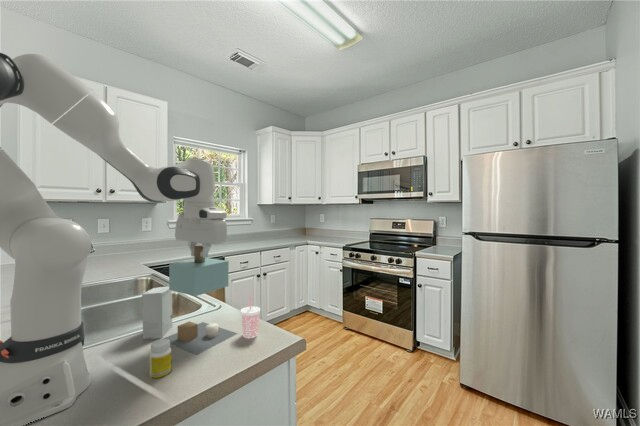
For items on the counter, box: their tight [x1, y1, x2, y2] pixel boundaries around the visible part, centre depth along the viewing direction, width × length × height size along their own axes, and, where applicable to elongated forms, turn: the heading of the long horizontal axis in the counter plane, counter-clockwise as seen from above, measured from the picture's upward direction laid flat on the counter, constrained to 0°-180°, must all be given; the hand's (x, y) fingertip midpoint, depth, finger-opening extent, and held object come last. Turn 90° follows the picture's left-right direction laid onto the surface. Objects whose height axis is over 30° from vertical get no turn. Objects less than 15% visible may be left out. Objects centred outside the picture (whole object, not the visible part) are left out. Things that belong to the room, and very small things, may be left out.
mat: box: [162, 321, 239, 356], centre depth 87 cm, size 15×17×5 cm
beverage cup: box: [240, 293, 261, 339], centre depth 88 cm, size 6×6×14 cm
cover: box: [168, 244, 229, 297], centre depth 86 cm, size 12×12×13 cm
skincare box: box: [141, 286, 173, 340], centre depth 89 cm, size 8×6×15 cm
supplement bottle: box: [148, 338, 173, 379], centre depth 68 cm, size 5×5×8 cm
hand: (199, 257), depth 86 cm, fingers closed on cover, 3 cm apart
